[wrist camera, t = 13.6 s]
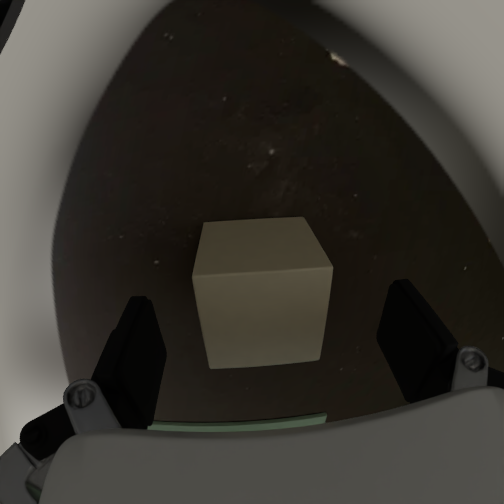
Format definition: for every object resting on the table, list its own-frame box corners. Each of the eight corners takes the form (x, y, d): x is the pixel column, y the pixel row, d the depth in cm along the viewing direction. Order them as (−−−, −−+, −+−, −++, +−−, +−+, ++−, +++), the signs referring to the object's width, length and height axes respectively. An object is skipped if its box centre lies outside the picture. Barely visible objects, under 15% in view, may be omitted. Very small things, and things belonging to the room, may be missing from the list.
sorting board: (184, 479, 29) (183, 481, 29) (138, 419, 21) (137, 423, 20) (304, 473, 30) (304, 476, 29) (326, 412, 21) (327, 416, 21)
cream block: (213, 302, 15) (209, 369, 11) (203, 221, 13) (191, 276, 9) (299, 297, 15) (319, 360, 11) (303, 216, 13) (334, 266, 9)
